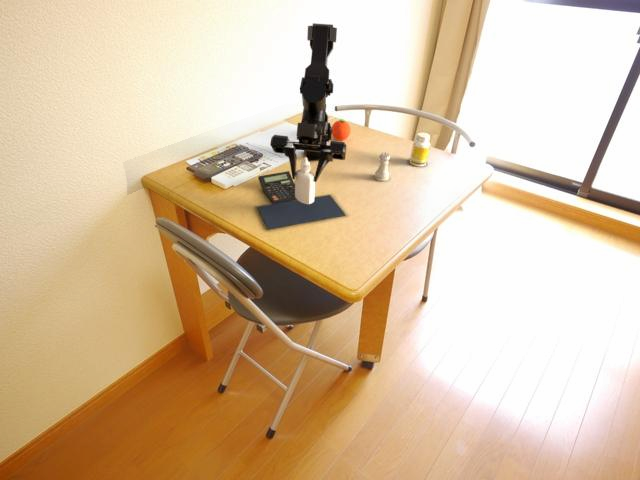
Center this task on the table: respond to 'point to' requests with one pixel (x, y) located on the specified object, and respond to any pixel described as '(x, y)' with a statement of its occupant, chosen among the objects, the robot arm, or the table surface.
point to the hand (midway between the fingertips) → (304, 180)
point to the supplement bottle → (420, 149)
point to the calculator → (278, 187)
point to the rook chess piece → (383, 168)
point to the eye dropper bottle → (305, 183)
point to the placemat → (299, 212)
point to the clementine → (340, 130)
